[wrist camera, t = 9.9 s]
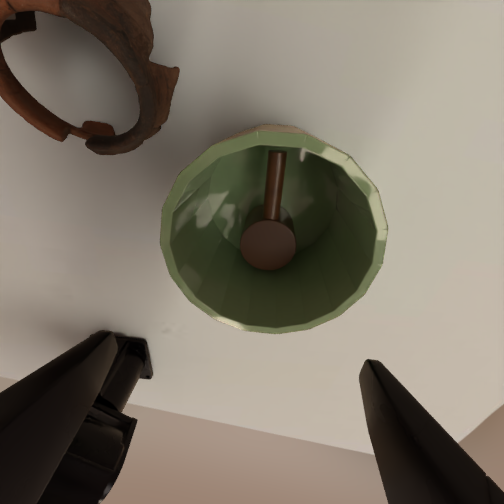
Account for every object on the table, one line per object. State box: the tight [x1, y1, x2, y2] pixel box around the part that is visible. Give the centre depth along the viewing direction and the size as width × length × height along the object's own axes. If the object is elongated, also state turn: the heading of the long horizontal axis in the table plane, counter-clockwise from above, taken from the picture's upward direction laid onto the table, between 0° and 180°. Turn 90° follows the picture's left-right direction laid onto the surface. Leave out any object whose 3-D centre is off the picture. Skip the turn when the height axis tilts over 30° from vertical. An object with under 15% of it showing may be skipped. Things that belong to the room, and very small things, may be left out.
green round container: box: [160, 124, 388, 334], centre depth 15 cm, size 10×10×8 cm
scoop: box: [240, 150, 297, 270], centre depth 17 cm, size 8×4×3 cm, turn 176°
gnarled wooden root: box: [0, 0, 180, 155], centre depth 13 cm, size 12×10×8 cm
